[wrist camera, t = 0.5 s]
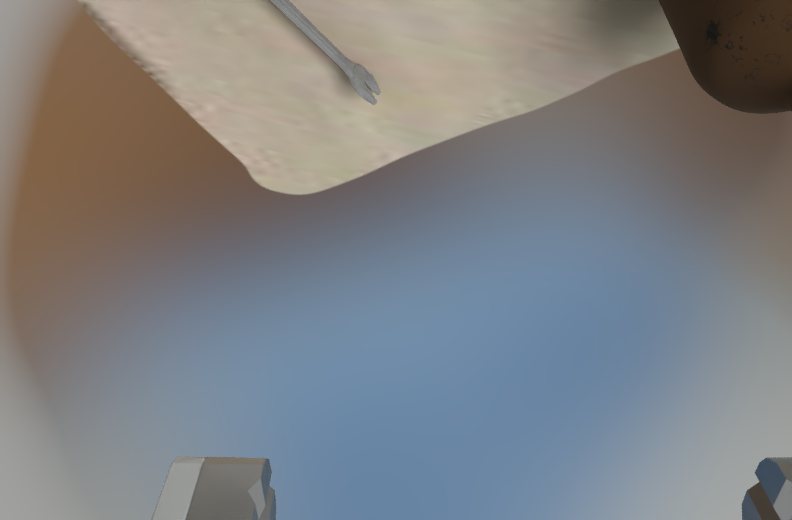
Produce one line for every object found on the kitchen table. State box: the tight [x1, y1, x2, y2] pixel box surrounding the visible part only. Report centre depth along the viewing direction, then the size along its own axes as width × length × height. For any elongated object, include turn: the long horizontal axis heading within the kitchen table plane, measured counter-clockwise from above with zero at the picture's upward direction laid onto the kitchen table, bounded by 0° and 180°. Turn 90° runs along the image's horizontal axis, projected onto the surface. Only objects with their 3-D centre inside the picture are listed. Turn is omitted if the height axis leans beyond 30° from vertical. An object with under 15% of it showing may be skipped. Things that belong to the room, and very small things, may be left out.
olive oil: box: [659, 0, 792, 114], centre depth 45 cm, size 11×11×25 cm
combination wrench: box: [270, 0, 381, 105], centre depth 56 cm, size 4×1×20 cm
